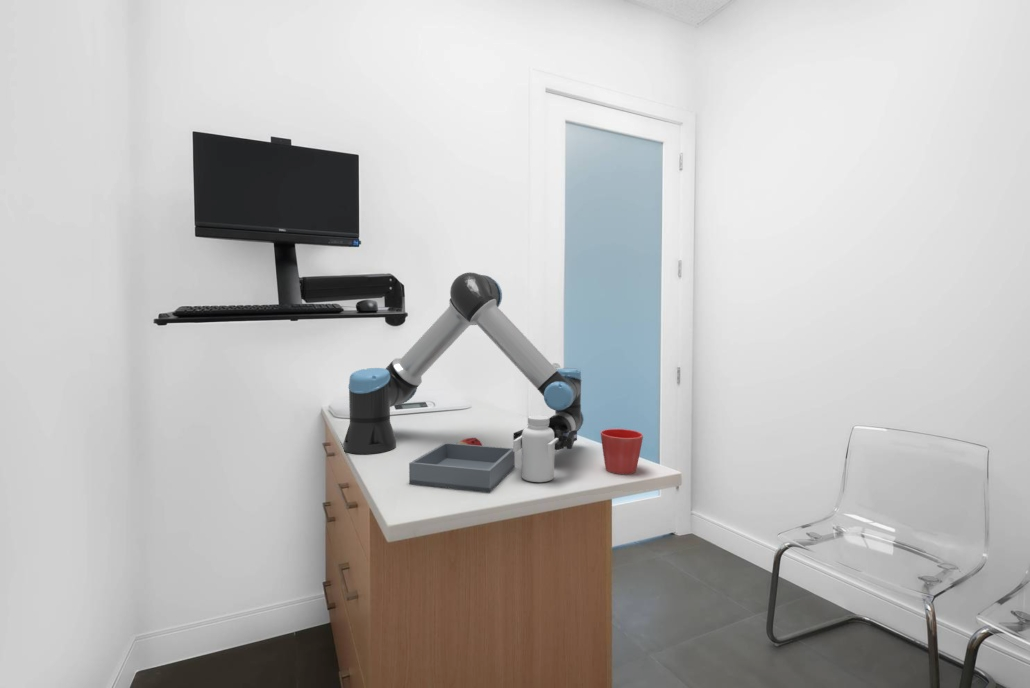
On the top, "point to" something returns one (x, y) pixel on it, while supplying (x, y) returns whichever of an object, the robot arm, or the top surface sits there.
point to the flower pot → (621, 450)
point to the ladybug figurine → (471, 441)
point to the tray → (462, 467)
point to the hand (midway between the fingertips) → (531, 448)
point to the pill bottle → (537, 450)
